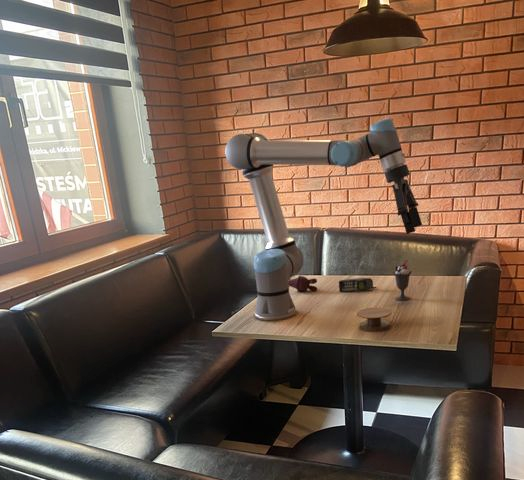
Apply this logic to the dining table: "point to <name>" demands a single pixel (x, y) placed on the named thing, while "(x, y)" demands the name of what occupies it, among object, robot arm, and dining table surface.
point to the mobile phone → (356, 284)
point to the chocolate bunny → (302, 283)
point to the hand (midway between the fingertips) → (414, 229)
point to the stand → (374, 319)
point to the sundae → (402, 280)
